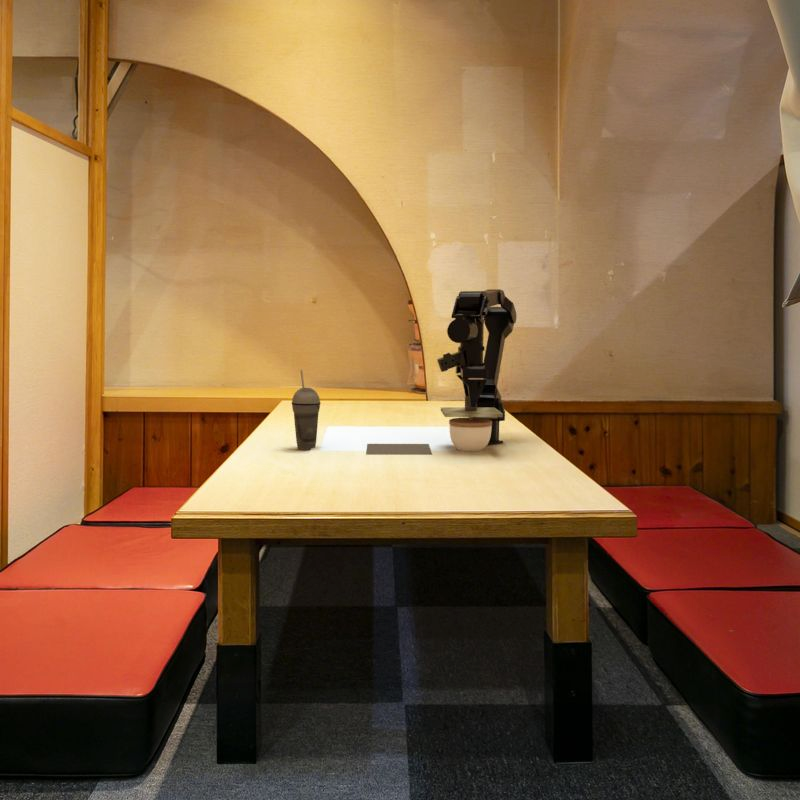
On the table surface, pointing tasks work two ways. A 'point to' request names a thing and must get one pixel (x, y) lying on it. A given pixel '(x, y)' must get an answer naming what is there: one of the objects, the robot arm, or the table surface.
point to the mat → (398, 449)
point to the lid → (470, 411)
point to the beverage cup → (306, 416)
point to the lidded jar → (470, 433)
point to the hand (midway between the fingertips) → (470, 404)
